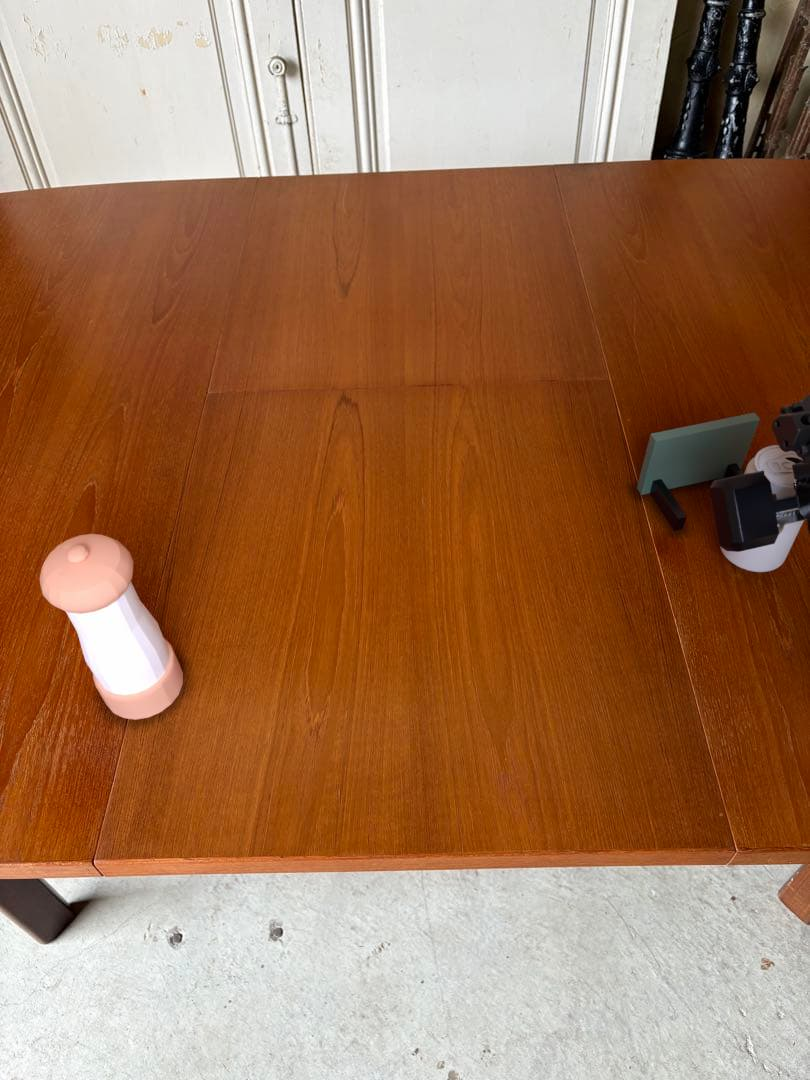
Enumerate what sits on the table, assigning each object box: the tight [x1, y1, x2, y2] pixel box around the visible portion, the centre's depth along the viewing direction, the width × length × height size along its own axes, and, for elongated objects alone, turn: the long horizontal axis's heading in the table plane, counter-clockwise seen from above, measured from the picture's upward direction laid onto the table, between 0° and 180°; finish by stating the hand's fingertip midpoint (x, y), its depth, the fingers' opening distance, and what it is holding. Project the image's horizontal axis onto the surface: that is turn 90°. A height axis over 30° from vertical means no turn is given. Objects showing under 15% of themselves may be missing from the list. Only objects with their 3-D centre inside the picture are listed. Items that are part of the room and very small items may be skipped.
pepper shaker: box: [39, 533, 184, 721], centre depth 68 cm, size 7×7×19 cm
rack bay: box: [636, 412, 761, 532], centre depth 86 cm, size 7×12×8 cm, turn 105°
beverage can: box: [719, 444, 805, 573], centre depth 78 cm, size 6×6×12 cm
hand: (762, 497), depth 78 cm, fingers closed on beverage can, 6 cm apart
